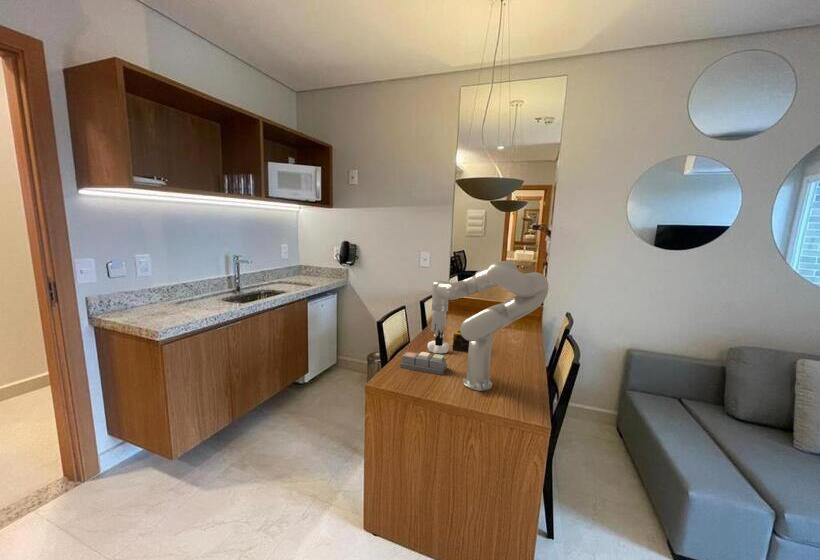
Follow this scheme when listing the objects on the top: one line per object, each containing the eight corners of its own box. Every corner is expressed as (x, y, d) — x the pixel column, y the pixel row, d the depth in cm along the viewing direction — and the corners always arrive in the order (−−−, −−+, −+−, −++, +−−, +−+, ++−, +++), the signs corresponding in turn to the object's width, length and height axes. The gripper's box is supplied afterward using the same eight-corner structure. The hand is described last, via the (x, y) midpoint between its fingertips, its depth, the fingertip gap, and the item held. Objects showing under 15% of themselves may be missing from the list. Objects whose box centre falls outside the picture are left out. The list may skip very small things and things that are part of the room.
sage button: (443, 361, 161) (443, 355, 161) (441, 364, 157) (441, 358, 156) (434, 360, 162) (435, 353, 162) (432, 363, 158) (432, 357, 158)
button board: (446, 367, 163) (447, 357, 162) (442, 375, 155) (442, 363, 154) (406, 360, 170) (407, 350, 169) (400, 367, 162) (400, 356, 161)
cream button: (429, 359, 163) (429, 353, 163) (426, 362, 159) (427, 356, 159) (421, 357, 165) (421, 351, 164) (418, 360, 161) (418, 354, 160)
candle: (470, 352, 185) (471, 335, 183) (452, 350, 186) (453, 333, 185) (470, 346, 194) (471, 330, 193) (453, 344, 196) (454, 328, 195)
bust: (448, 356, 184) (450, 337, 189) (448, 352, 177) (450, 332, 183) (427, 354, 186) (429, 335, 191) (426, 350, 179) (428, 330, 185)
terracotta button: (415, 359, 166) (416, 353, 165) (413, 362, 162) (413, 356, 161) (407, 358, 167) (407, 352, 167) (404, 361, 163) (404, 355, 163)
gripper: (436, 303, 164) (435, 339, 166) (427, 310, 150) (426, 349, 152) (451, 304, 161) (450, 341, 164) (444, 311, 147) (442, 351, 150)
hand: (438, 345), depth 158 cm, fingers closed
